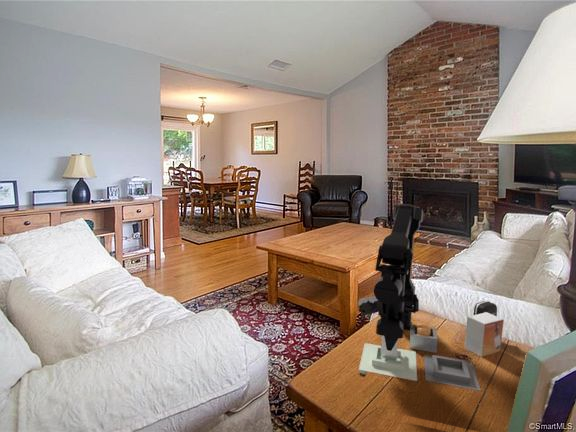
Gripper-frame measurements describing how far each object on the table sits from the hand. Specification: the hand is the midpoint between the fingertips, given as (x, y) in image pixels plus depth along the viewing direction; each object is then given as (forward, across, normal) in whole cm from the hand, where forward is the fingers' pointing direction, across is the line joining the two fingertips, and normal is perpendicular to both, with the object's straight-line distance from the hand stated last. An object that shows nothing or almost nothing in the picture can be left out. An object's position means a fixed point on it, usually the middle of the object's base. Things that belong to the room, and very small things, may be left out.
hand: (389, 346), depth 93 cm
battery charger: (+5, -24, +27) cm, 37 cm away
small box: (+5, -15, +25) cm, 30 cm away
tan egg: (+4, -12, +9) cm, 15 cm away
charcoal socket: (+5, 0, +15) cm, 16 cm away
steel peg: (+2, 0, 0) cm, 2 cm away
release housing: (+5, -12, +9) cm, 16 cm away
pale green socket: (+5, 0, 0) cm, 5 cm away
